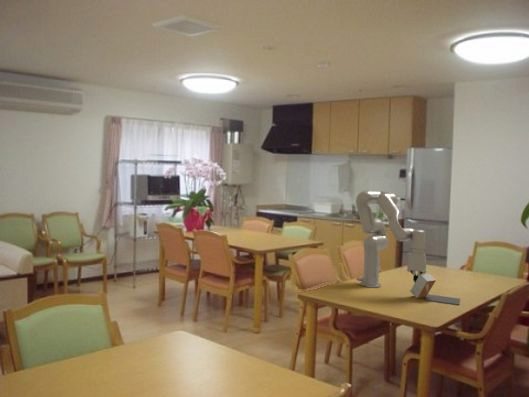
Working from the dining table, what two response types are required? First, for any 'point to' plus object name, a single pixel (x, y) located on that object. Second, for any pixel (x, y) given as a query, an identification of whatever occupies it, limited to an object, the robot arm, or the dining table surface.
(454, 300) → the mat
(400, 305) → the dining table surface
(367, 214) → the robot arm
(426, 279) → the small box
